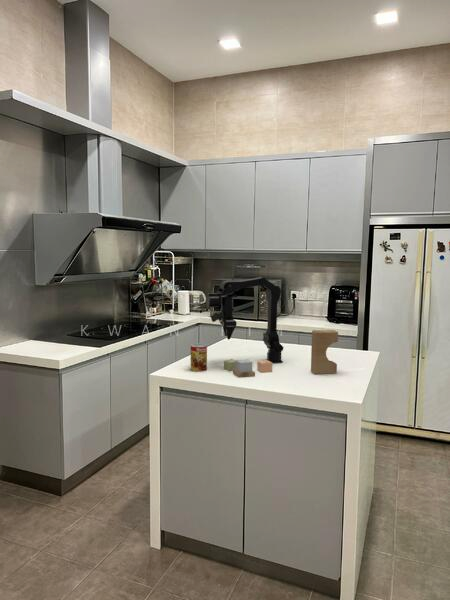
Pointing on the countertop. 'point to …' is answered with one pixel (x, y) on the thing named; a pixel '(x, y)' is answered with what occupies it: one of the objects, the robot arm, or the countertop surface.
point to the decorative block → (322, 351)
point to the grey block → (244, 365)
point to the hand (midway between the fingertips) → (227, 337)
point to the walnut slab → (243, 374)
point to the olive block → (229, 365)
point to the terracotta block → (264, 366)
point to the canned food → (198, 357)
